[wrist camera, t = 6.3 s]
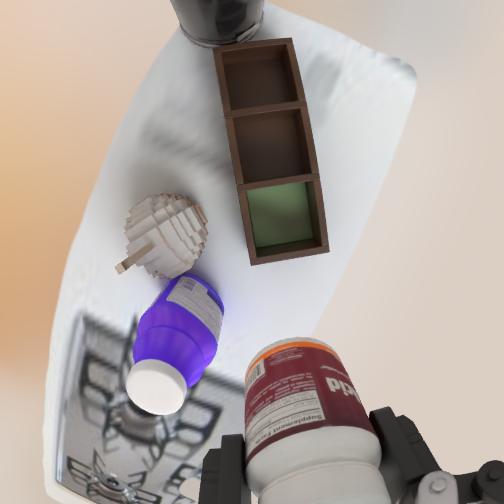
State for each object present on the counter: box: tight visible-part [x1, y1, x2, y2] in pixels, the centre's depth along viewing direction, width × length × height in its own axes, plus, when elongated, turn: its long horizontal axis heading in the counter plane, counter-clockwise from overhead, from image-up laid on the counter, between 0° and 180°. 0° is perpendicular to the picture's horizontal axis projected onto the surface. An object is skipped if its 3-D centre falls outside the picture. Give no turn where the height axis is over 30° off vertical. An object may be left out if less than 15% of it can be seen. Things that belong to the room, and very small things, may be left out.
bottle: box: [126, 274, 224, 415], centre depth 26 cm, size 7×6×17 cm
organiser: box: [213, 38, 330, 266], centre depth 29 cm, size 21×8×5 cm, turn 10°
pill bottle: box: [245, 337, 391, 504], centre depth 10 cm, size 5×5×8 cm
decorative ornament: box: [115, 193, 208, 279], centre depth 26 cm, size 8×8×15 cm
